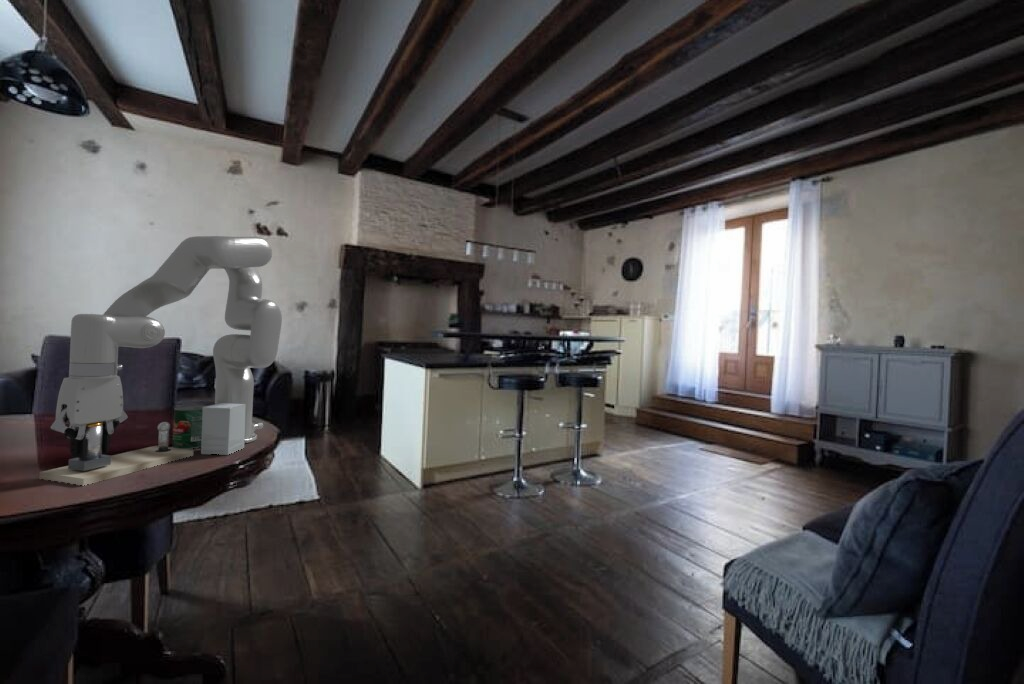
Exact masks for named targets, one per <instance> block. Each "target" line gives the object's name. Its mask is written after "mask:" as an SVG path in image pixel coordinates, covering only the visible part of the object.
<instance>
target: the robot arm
mask: <svg viewBox="0 0 1024 684" xmlns="http://www.w3.org/2000/svg"><path fill="white" fill-rule="evenodd" d="M272 256H273V250H272V247H271V245H270V243H269V242H268V241H267V240H265V239H264V238H262V237H259V236H225V235H224V236H223V235H206V236H205V235H202V236H198V235H197V236H190V237H187V238H185V239H184V240H182V241H181V242H180V244H178V246H177V247H176V248H175V249H174V250H173V252H172V253H170V255H169V256H168V257H167V258H166V260H165V261H164V262H163V263H162V264H161V265H160V266H159V268H157V270H156V271H155V272H154V273H153V275H151V276H150V277H148V278H147V279H144V280H143V281H141V282H139V283H138V284H137V285H135V286H133V287H132V288H131V289H129V290H127V291H125V292H124V293H122V295H121V296H119V297H118V298H116V299H115V300H114V302H113V303H112V304H111V305H110V306H109V307H108V308H107V309H106V311H104V313H103V314H96V313H95V314H94V313H79V314H75V315H74V316H73V317H72V319H71V325H70V343H69V344H70V345H69V346H70V347H69V348H70V349H69V365H68V366H69V370H68V373H69V374H68V377H63V379H62V383H61V385H60V388H59V391H58V396H57V402H56V409H55V420H54V422H53V423H52V424H51V425H50V430H52V431H55V432H59V433H61V434H63V435H64V436H66V437H67V439H70V451H69V452H70V456H71V457H72V458H84V457H86V447H87V440H86V439H83V437H84V433H85V429H86V424H92V423H98V422H103V437H102V453H104V454H107V453H109V452H110V446H111V435H112V434H114V431H115V429H116V428H117V427H118V426H119V425H120V424H121V423H122V422H124V421H126V420H127V419H128V417H129V416H128V415H127V413H126V412H125V411H124V392H123V385H122V381H121V377H120V376H119V375H118V371H122V370H123V365H122V364H121V363H120V364H119V362H118V361H119V360H118V359H119V347H124V348H126V347H127V348H133V349H145V348H146V349H147V348H151V347H155V346H157V345H158V344H160V343H161V342H162V341H163V340H164V338H165V335H166V331H165V327H164V325H163V324H162V323H161V322H160V321H159V320H157V319H155V318H153V317H150V316H149V315H150V314H152V313H153V312H154V311H156V310H158V309H160V308H162V307H165V306H167V305H171V304H173V303H177V302H179V301H181V300H183V299H185V298H187V297H189V296H191V294H192V293H193V291H194V290H195V288H197V287H198V285H199V284H200V283H201V281H202V279H203V278H204V277H205V276H206V274H208V272H209V271H210V270H213V269H214V270H215V269H217V270H219V269H220V270H223V269H224V271H225V273H226V275H227V277H228V279H229V280H228V292H227V299H226V305H225V311H224V321H225V324H226V325H227V326H228V327H229V328H231V329H234V330H238V331H250V334H239V333H238V334H237V333H235V334H233V333H231V334H225V335H223V336H221V337H220V338H218V339H217V340H216V341H215V343H214V345H213V347H212V354H213V355H212V356H213V357H212V358H213V362H214V368H215V391H214V392H215V393H214V394H215V396H214V404H219V403H229V404H246V407H245V437H244V444H248V443H252V442H254V441H256V440H257V439H258V434H256V433H255V432H256V430H260V429H263V428H264V423H263V422H257V423H255V422H253V407H254V404H253V403H254V386H255V384H254V383H255V381H254V379H255V378H254V375H253V373H252V369H265V368H268V367H270V366H271V365H272V364H273V363H274V361H275V360H276V357H277V354H278V349H279V343H280V338H281V337H280V336H281V332H282V331H281V329H282V323H283V322H282V320H283V316H282V313H281V312H282V311H281V309H280V307H279V306H278V304H276V302H274V301H273V300H270V299H266V298H262V295H263V293H262V292H263V282H262V278H261V276H260V274H259V272H258V271H257V269H256V268H258V267H259V268H260V267H264V266H266V265H267V264H268V263H269V262H270V261H271V259H272ZM251 368H252V369H251ZM66 424H69V427H68V426H67V425H66Z"/></svg>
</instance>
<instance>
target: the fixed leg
mask: <svg viewBox="0 0 1024 684" xmlns="http://www.w3.org/2000/svg"><path fill="white" fill-rule="evenodd" d="M171 428H172V427H171V423H169V422H168V421H162V422H160V423H158V425H157V430H158V445H157V446H158V451H167V450H168V447H169V442H170V441H169V438H170V434H169V433H170V430H171Z"/></svg>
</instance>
